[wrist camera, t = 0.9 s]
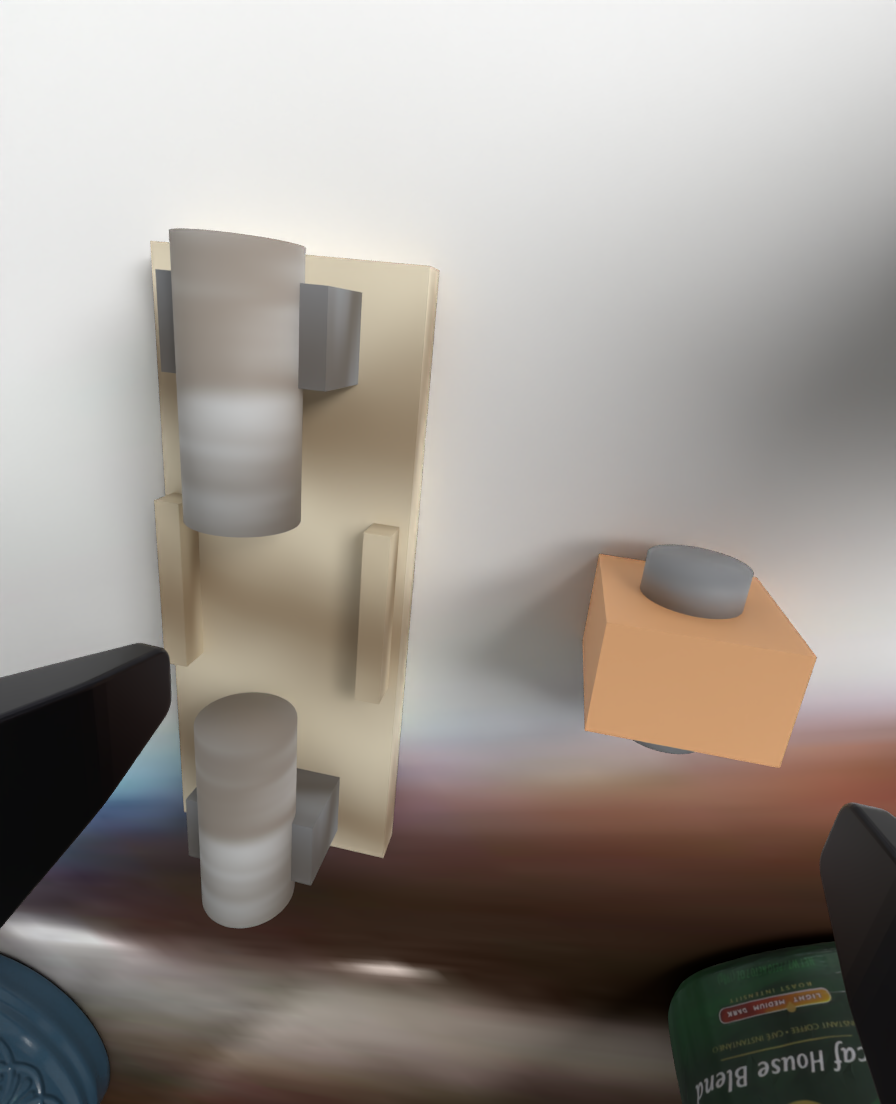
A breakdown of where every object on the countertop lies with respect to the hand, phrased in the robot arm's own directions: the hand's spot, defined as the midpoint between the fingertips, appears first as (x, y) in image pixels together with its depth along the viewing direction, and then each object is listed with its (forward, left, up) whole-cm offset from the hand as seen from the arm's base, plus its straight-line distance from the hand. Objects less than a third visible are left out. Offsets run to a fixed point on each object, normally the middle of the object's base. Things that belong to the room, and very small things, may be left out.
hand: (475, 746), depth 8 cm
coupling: (-4, +3, -12) cm, 13 cm away
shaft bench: (+8, +4, -12) cm, 14 cm away
